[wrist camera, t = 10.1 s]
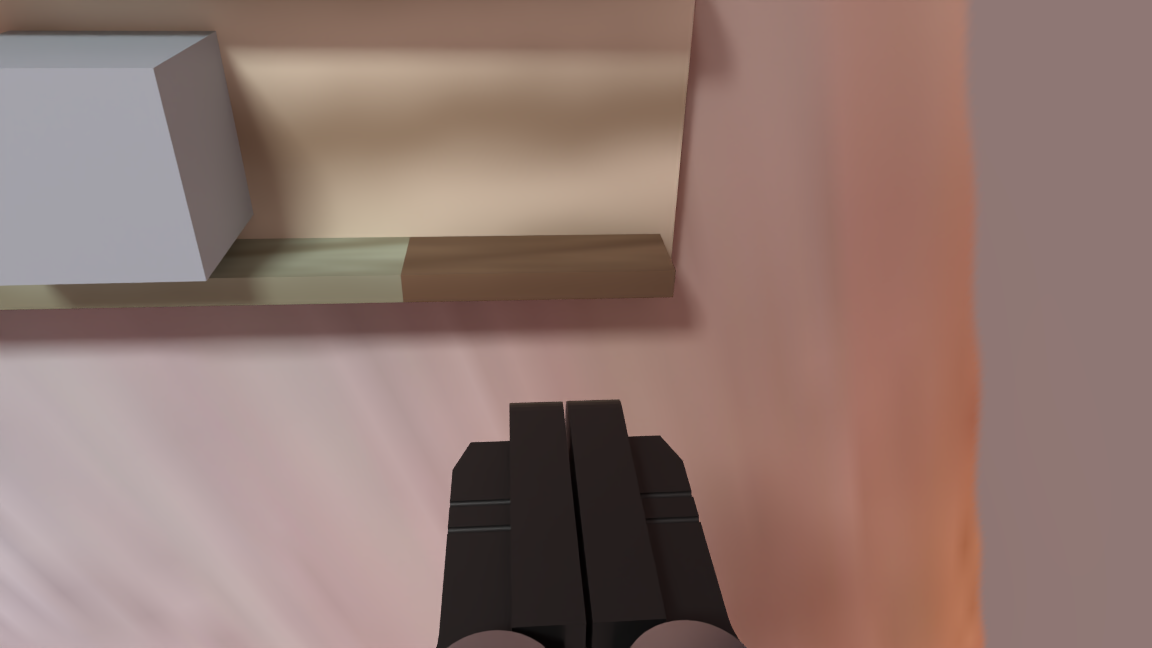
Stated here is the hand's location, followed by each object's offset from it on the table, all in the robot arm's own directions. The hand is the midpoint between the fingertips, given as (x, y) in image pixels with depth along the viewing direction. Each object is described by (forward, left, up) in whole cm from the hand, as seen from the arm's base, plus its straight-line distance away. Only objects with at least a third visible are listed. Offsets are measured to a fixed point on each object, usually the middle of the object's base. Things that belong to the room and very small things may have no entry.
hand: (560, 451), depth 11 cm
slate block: (+1, -12, -18) cm, 22 cm away
